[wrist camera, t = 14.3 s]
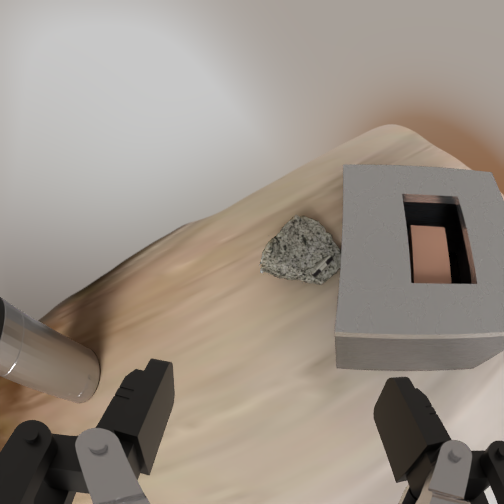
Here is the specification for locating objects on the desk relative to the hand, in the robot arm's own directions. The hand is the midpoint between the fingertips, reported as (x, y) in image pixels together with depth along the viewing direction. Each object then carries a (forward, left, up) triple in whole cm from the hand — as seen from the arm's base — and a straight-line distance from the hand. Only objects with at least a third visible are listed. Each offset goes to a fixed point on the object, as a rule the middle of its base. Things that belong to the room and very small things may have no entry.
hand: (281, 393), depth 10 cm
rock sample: (-9, +17, -21) cm, 29 cm away
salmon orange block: (+5, +15, -21) cm, 27 cm away
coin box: (+5, +15, -21) cm, 26 cm away
